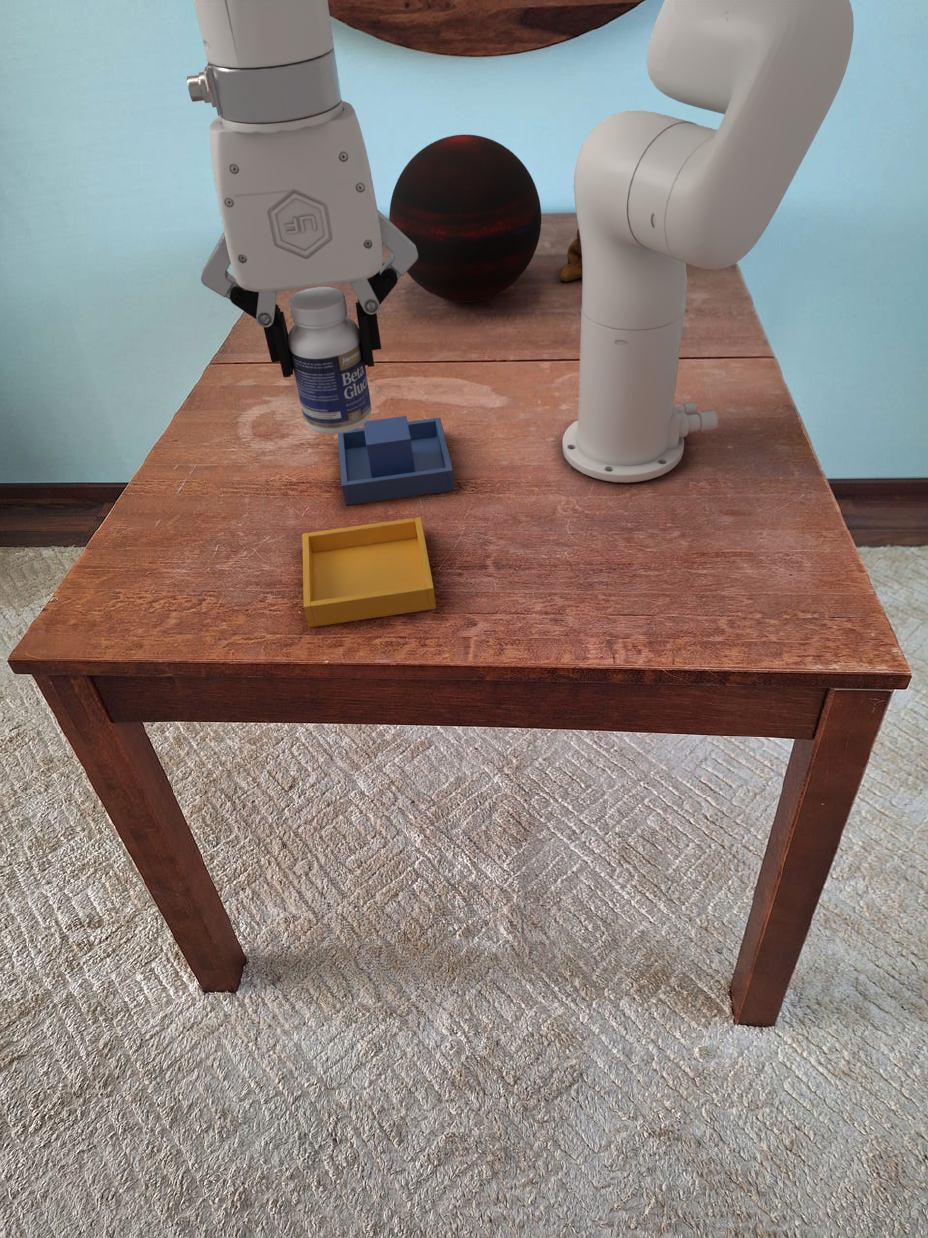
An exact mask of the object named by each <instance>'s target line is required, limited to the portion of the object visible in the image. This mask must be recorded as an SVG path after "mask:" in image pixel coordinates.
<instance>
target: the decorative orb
mask: <svg viewBox="0 0 928 1238" xmlns="http://www.w3.org/2000/svg"><path fill="white" fill-rule="evenodd" d="M388 213H389V215H388V217H389V218H388V220H389V221H390V222H391V223H393V224H394V225H395V226H396V227H397V228H398V229H399V230H400V231H401V232H402V233H403V234H404V235H405V236H406V237H407V238H408V239H409V240H411V241H412V242H413V243H414V244H415V246H416V248H417V252H418V259H417V261H416V262H415V263H414V264H413V265H412V266H411V267H410V268H409V269H408V271H407V272H406V273H407V274H408V275H409V276H410V278H411V279H412V280H413V281H414V282H415V283H416V284H417V285H419V286H420V287H421V288H422V289H423V290H425V291H427V292H428V293H430V294H432V295H433V296H435V297H438V298H440V299H443V300H447V301H450V302H455V303H456V302H457V303H474V302H479V301H485V300H487V299H490V298H493V297H495V296H497V295H499V294H500V293H503V292H504V291H505V290H507V289H508V288H510V287H511V286H512V285H514V283H516V282H517V280H519V278H520V277H521V276H522V275H523V274H524V272H525V271H526V269H527V268H528V267H529V265H530V263H531V261H532V260H533V258H534V255H535V254H536V250H537V248H538V245H539V244H538V243H539V241H540V237H541V230H542V206H541V200H540V196H539V192H538V189H537V186H536V184H535V181H534V179H533V177H532V175H531V173H530V172H529V170H528V168H527V167H526V165H525V164H524V163H523V162H522V160H521V159H520V158H519V157H518V156H517V155H516V154H515V153H514V152H513V151H511V150H510V149H509V148H507V147H506V146H504V145H503V144H502V143H500V142H497V141H495V140H493V139H492V138H489V137H485V136H482V135H476V134H454V135H450V136H446V137H443V138H440V139H437V140H435V141H434V142H431V143H430V144H428V145H426V146H425V147H423V148H421V150H419V151H418V152H417V153H416V154H415V155H413V157H412V158H411V159H410V160H409V161H408V162H407V164H406V165H405V167H404V168H403V169H402V171H401V173H400V174H399V177H398V178H397V181H396V184H395V185H394V188H393V190H392V195H391V198H390V204H389V212H388Z"/></svg>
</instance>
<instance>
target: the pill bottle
mask: <svg viewBox="0 0 928 1238" xmlns="http://www.w3.org/2000/svg"><path fill="white" fill-rule="evenodd" d="M288 304H289V308H290V314H291V316H290V317H291V318H292V321H293V324H294V325H292V326H291V328H290V330H289V331H288V346H289V352H290V356H291V361H292V365H293V375H294V379H295V384H296V389H297V393H298V398H299V403H300V408H301V412H302V416H303V419H304V423H305V424H306V425H307V427H308V428H310V430H312V431H314V432H317V433H320V434H326V435H327V434H328V435H336V434H337V435H338V433H344V432H348V431H352V430H355V429H358V428H362V426H364V423H366V422H367V421H369V419H370V418H371V414H372V402H371V394H370V388H369V382H368V375H367V368H366V365H365V364H364V358H363V351H362V345H361V338H360V332H359V326H358V323H356V322H355V321H354V320H353V319H351V318H350V317H348V308H347V307H348V306H347V301H346V296H345V293H344V292H343V291H341V289H339V288H335V287H331V286H330V287H329V286H316V287H309V288H305V289H303V290H300V291H298V292H296V293H295V294H293V295H292V296H291V297H290V299H289V303H288Z"/></svg>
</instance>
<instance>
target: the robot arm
mask: <svg viewBox="0 0 928 1238" xmlns="http://www.w3.org/2000/svg"><path fill="white" fill-rule="evenodd" d="M192 1H193V6H194V10H195V14H196V18H197V22H198V27H199V31H200V36H201V39H202V45H203V49H204V53H205V57H206V61H207V64H206V66H205V67H204V70H203V71H201V72H198V74H196V75H187V76H186V83H187V89H188V93H189V97H190V100H191V102H192V103H196V102H204V103H205V104H211V106H212V108H216V113H217V116H216V117H215V118H213V120H212V122H211V123H210V125H209V145H210V146H209V147H210V156H211V157H210V158H211V165H212V173H213V180H214V185H215V186H214V187H215V192H216V198H217V203H218V209H219V214H220V220H221V225H222V229H223V232H222V234H221V236H220V237H219V239H218V241H217V243H216V245H215V247H214V248H213V250H212V252H211V254H210V255H209V257H208V259H207V261H206V263H205V265H204V266H203V269H202V270H201V276H200V280H201V283H202V284H203V286H204V287H206V288H208V289H209V290H211V291H212V292H215V293H216V294H218V295H220V296H221V297H222V298H226V299H228V300H229V301H230V302H231V303H232V304H233V305H234V306H236V307H237V308H238V309H240V310H241V311H243V312H244V313H246V314H247V315H249V316H250V317H252V318H253V319H255V321H256V323H257V324H258V325H259V326H260V327H261V328H263V332H264V335H265V340H266V344H267V349H268V353H269V357H270V361H271V363H272V364H274V363H280V369H281V372H282V377H283V378H291V377H292V375H294V370H293V365H292V361H291V356H290V352H289V346H288V335H289V331H288V325H287V322H286V317H285V312H284V311H281V307H279V304H277V298H278V297H277V296H278V292H281V291H289V290H297V289H298V290H299V289H309V288H316V287H325V286H332V285H340V284H347V283H349V285H350V287H351V288H352V290H353V292H354V294H355V297H356V299H357V302H355V310H356V318H357V319H356V320H357V326H358V328H359V332H360V338H361V345H362V351H363V358H364V364H365V366H367V368H371V367H372V368H373V367H375V361H374V353H373V351H378V350H382V343H381V336H380V330H379V329H380V328H379V321H378V316H377V315H378V314H377V313H378V312H379V311H380V306H381V304H382V303H383V302H384V300H385V299H386V298H387V297H388V296H389V294H390V293H391V292H392V290H393V289H394V288H395V287H396V285H397V284H398V281H399V280H400V278H401V277H403V276H404V275H405V274H406V273H407V271H408V269H409V268H410V267H411V266H412V265H413V264H414V263H415V262H416V261H417V259H418V252H417V248H416V246H415V244H414V243H413V242H412V241H411V240H409V239H408V238H407V237H406V236H405V235H404V234H403V233H402V232H401V231H400V230H399V229H398V228H397V227H396V226H395V225H394V224H393V223H391V222H390V221H389V218H387V217H386V216H385V215H384V214H383V213H382V212H381V211H380V210H379V209H378V205H377V199H376V193H375V188H374V182H373V176H372V170H371V166H370V161H369V156H368V151H367V146H366V143H365V140H364V137H363V136H364V135H363V131H362V128H361V125H360V122H359V118H358V116H357V113H356V110H355V108H354V107H353V105H352V104H351V103H350V102H348V101H344V100H342V95H341V87H340V80H339V72H338V66H337V59H336V58H337V57H336V51H335V46H334V45H335V44H334V35H333V29H332V21H331V15H330V7H329V1H328V0H192ZM659 10H660V11H659V13H658V15H657V16H656V17H657V18H656V20H655V23H654V25H653V27H652V28H653V29H652V32H651V35H650V37H649V42H648V46H647V51H646V69H647V74H648V77H649V79H650V81H651V82H652V84H653V86H654V87H655V88H656V89H657V90H658V91H659V92H661V93H662V94H663V95H664V96H666V97H667V98H670V99H672V100H674V101H677V102H679V103H682V104H685V105H688V106H691V107H693V108H694V107H695V108H697V109H702V110H706V111H710V112H713V113H718V114H721V115H723V117H722V119H721V122H720V124H719V126H718V128H717V129H715V128H712V127H708V126H703V125H700V124H697V123H695V122H693V121H689V120H685V119H682V118H678V117H674V116H671V115H667V114H662V113H658V112H656V111H655V112H653V111H647V110H626V111H621V112H617V113H614V114H612V115H610V116H608V117H606V118H605V119H603V120H602V121H600V122H599V123H598V124H597V125H596V126H595V127H593V129H592V130H591V131H590V132H589V133H588V134H587V136H586V138H585V139H584V142H583V143H582V145H581V147H580V150H579V152H578V155H577V159H576V161H575V165H574V166H575V167H574V174H573V198H574V207H575V213H576V220H577V226H578V228H579V232H580V240H581V249H582V271H583V276H582V277H581V278H582V279H581V280H582V283H581V284H582V285H581V288H582V289H581V310H580V311H581V313H580V342H579V343H580V345H579V370H578V371H579V373H578V375H579V377H578V407H577V409H578V411H577V419H576V420H575V421H574V422H572V423H570V424H569V426H568V427H567V428H566V430H565V431H564V433H563V436H562V440H561V441H562V454H563V456H564V458H565V460H566V461H567V463H568V464H569V465H570V466H571V467H573V468H574V469H575V470H576V471H578V472H580V473H581V474H583V475H586V476H588V477H590V478H593V479H597V480H600V481H604V482H605V481H606V482H611V483H639V482H644V481H649V480H652V479H657V478H658V477H661V476H663V475H665V474H667V473H669V472H671V470H673V469H674V468H675V467H676V466H677V465H678V464H679V463H680V461H682V457H683V455H684V450H685V449H684V447H685V440H684V438H685V437H687V436H688V435H689V433H694V432H707V431H713V430H717V428H718V427H719V418H718V414H717V412H716V410H708V411H703V412H698V405H697V403H696V402H690V403H684V404H680V405H675V404H674V403H675V395H676V386H677V377H678V370H679V369H678V368H679V361H680V352H681V346H682V335H683V327H684V320H685V310H686V306H687V305H686V304H687V297H688V274H687V273H688V272H687V266H686V265H689V266H692V267H695V268H697V269H702V270H707V271H717V270H722V269H726V268H729V267H731V266H733V265H735V264H736V263H738V262H739V261H741V260H742V259H743V258H744V257H746V256H747V255H748V254H749V253H750V252H751V250H752V249H753V248H755V245H757V244H758V242H759V240H760V239H761V237H762V236H763V235H764V233H765V231H766V230H767V228H768V226H769V225H770V223H771V221H772V219H773V218H774V215H775V214H776V212H777V210H778V208H779V206H780V204H781V202H782V200H783V199H784V197H785V195H786V193H787V192H788V189H789V187H790V185H791V184H792V182H793V180H794V177H795V176H796V174H797V172H798V170H799V168H800V167H801V165H802V163H803V161H804V159H805V156H806V155H807V153H808V151H809V149H810V147H811V146H812V143H813V141H814V140H815V138H816V136H817V135H818V132H819V130H820V128H821V126H822V124H823V122H824V120H825V119H826V116H827V115H828V113H829V111H830V109H831V107H832V104H833V102H834V100H835V98H836V96H837V94H838V93H839V90H840V87H841V85H842V83H843V80H844V78H845V75H846V71H847V69H848V64H849V61H850V58H851V52H852V46H853V41H854V31H855V28H854V27H855V26H854V25H855V24H854V13H853V9H852V4H851V2H850V0H664V1H663V3H662V6H661V8H660V9H659ZM383 245H384V246H385V248H386V249H388V250H389V251H390V252H391V254H390V256H389V257H388V259H387V260H386V261H385V262H383V261H384V260H383V259H384V249H383ZM230 266H231V269H232V273H233V274H231V273H229V271H228V269H229V267H230Z"/></svg>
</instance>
